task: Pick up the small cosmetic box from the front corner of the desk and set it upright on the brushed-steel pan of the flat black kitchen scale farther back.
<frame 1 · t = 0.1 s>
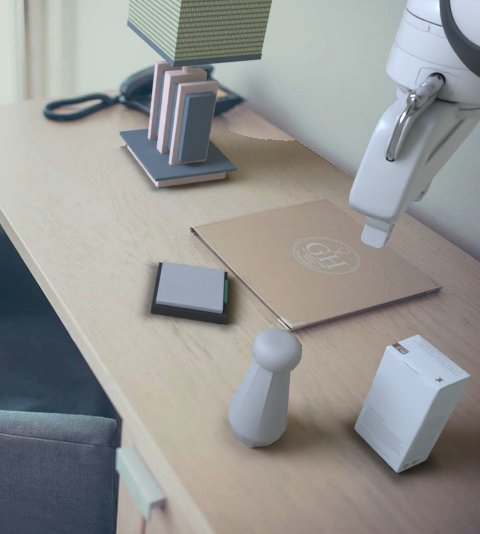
hand: (393, 218, 55), 23 cm above the table, tool pointing down, fingers open, 8 cm apart
salt shaker: (252, 432, 65), on the table
desk lamp: (174, 163, 109), on the table
scale: (189, 295, 82), on the table
cosmetic box: (386, 445, 65), on the table
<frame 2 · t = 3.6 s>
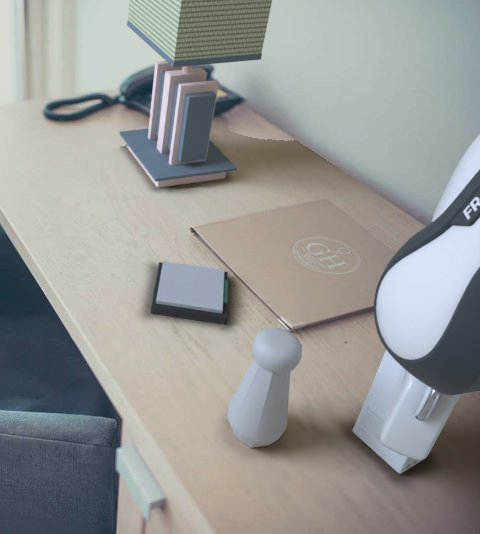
hand: (401, 413, 62), 5 cm above the table, tool pointing down, fingers closed on cosmetic box, 6 cm apart
cosmetic box: (385, 446, 64), on the table, touching gripper
everything else where it was.
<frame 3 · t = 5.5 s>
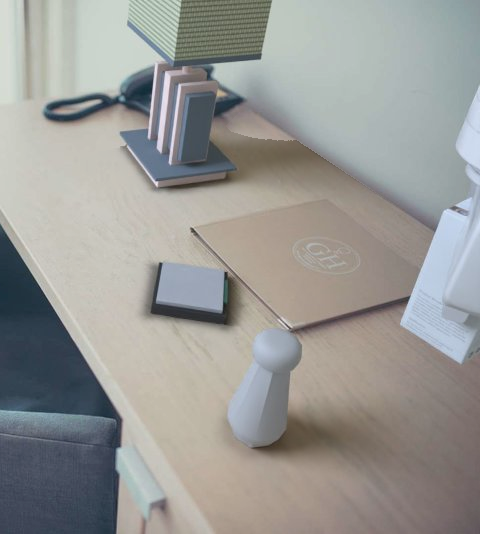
hand: (458, 292, 53), 20 cm above the table, tool pointing down, fingers closed on cosmetic box, 5 cm apart
cosmetic box: (439, 338, 55), point 15 cm above the table, touching gripper
everything else where it was.
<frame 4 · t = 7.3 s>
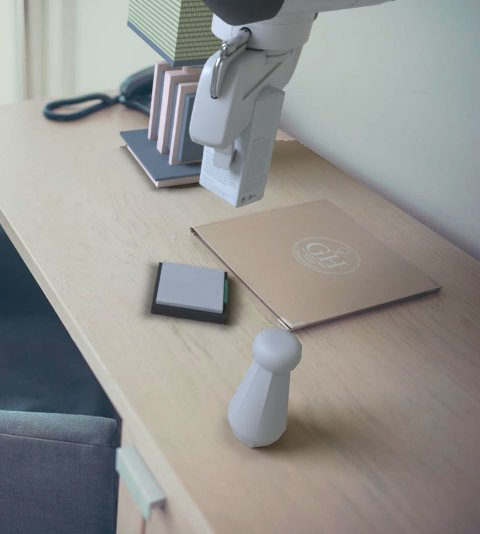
hand: (235, 152, 67), 22 cm above the table, tool pointing down, fingers closed on cosmetic box, 5 cm apart
cosmetic box: (228, 193, 69), point 17 cm above the table, touching gripper
everything else where it was.
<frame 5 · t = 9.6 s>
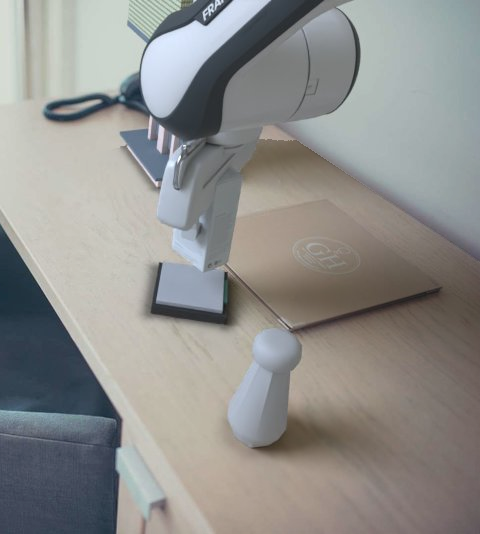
hand: (202, 222, 75), 11 cm above the table, tool pointing down, fingers closed on cosmetic box, 5 cm apart
cosmetic box: (197, 257, 78), point 6 cm above the table, touching gripper
everything else where it was.
when the fingers open (6 cm above the table, at t = 11.3 s): cosmetic box stays where it is, resting on scale.
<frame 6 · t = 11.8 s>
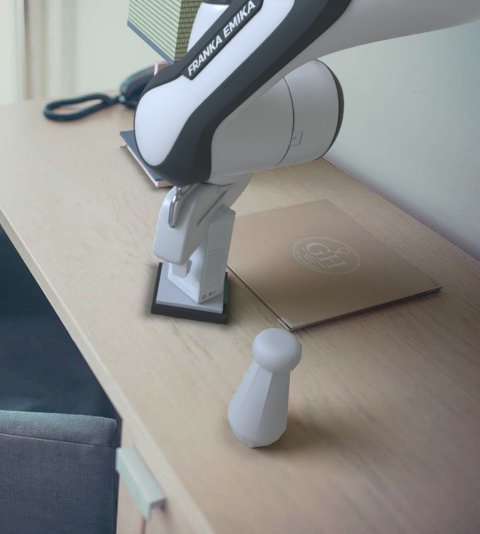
hand: (197, 253, 78), 7 cm above the table, tool pointing down, fingers open, 8 cm apart
cosmetic box: (192, 287, 80), point 2 cm above the table, touching scale
everything else where it was.
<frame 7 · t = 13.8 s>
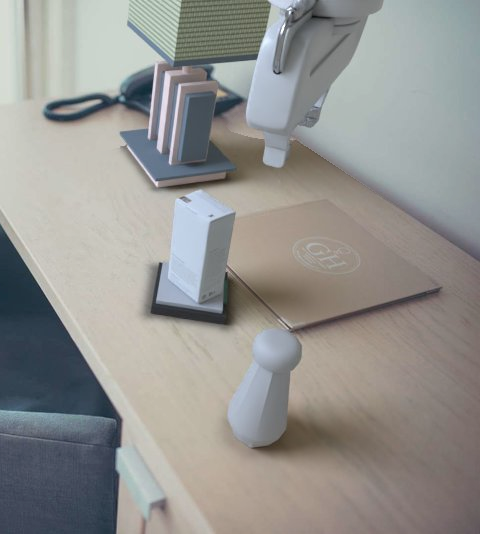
hand: (291, 142, 58), 26 cm above the table, tool pointing down, fingers open, 8 cm apart
nothing on the table moved.
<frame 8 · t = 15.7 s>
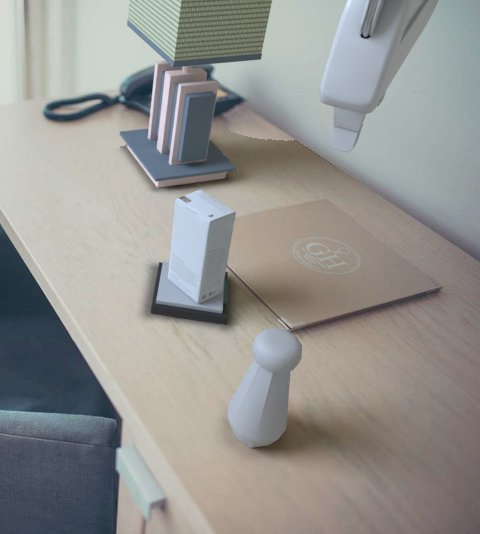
hand: (356, 123, 51), 31 cm above the table, tool pointing down, fingers open, 8 cm apart
nothing on the table moved.
at the end: cosmetic box 0.4 cm off-centre on the scale, point 1.6 cm above the scale's base; cosmetic box tilted 0°; the gripper is holding nothing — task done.
